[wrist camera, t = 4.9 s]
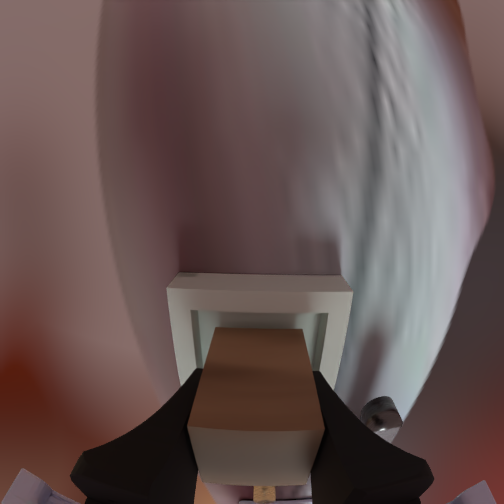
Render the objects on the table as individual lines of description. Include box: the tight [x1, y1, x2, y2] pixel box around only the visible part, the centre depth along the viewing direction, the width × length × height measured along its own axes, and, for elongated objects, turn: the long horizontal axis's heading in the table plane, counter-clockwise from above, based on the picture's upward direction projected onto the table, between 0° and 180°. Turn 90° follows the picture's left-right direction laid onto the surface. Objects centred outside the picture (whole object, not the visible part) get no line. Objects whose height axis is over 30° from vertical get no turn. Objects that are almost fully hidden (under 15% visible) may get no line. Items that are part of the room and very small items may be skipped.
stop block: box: [187, 327, 325, 486], centre depth 10 cm, size 4×4×6 cm
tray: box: [167, 272, 353, 390], centre depth 14 cm, size 8×8×2 cm
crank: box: [360, 396, 403, 443], centre depth 14 cm, size 9×3×3 cm, turn 179°
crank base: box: [253, 486, 276, 504], centre depth 15 cm, size 6×10×4 cm, turn 89°
